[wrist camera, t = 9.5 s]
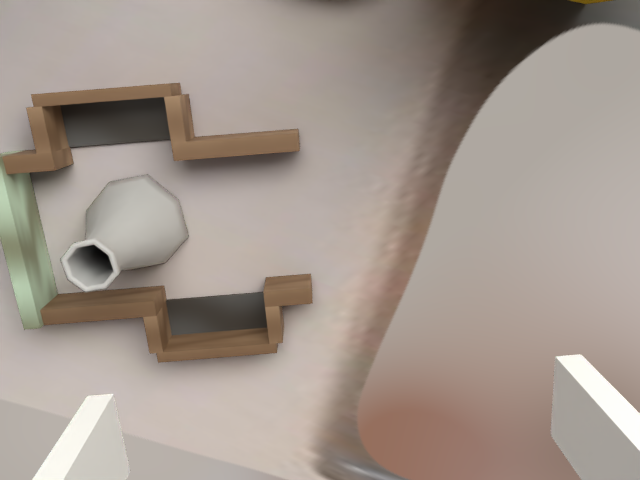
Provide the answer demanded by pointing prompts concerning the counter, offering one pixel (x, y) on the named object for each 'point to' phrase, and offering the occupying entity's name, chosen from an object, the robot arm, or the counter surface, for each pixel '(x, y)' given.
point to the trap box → (148, 302)
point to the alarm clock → (589, 1)
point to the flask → (125, 232)
